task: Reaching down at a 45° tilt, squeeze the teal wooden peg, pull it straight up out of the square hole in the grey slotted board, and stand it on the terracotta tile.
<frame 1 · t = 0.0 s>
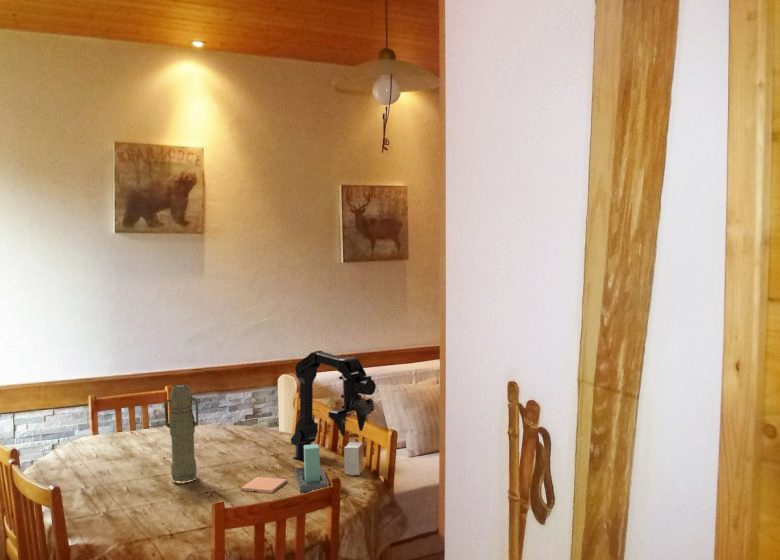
hand: (352, 433, 263), 15 cm above the table, tool pointing down, fingers open, 9 cm apart
grey slotted board: (312, 485, 250), on the table
small box: (354, 473, 263), on the table
tile: (264, 486, 250), on the table
thermos: (184, 480, 260), on the table
peg: (312, 465, 249), in the grey slotted board
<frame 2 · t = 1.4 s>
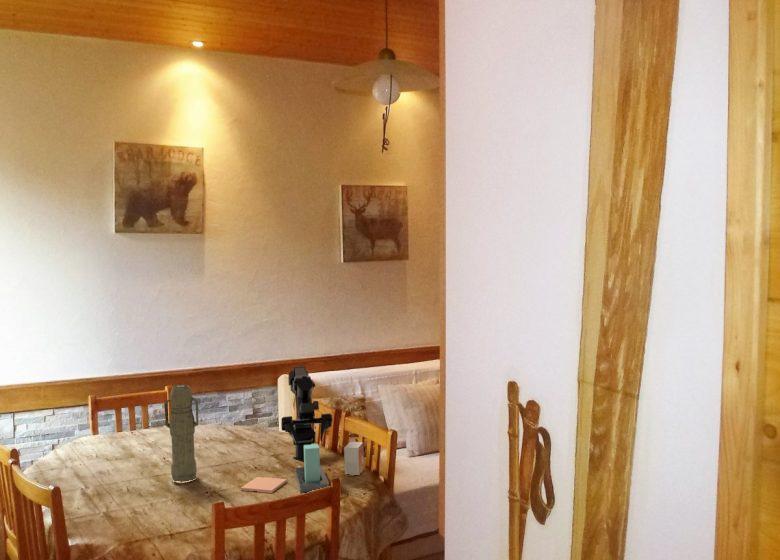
hand: (308, 441, 257), 13 cm above the table, tool tilted 45°, fingers open, 9 cm apart
nothing on the table moved.
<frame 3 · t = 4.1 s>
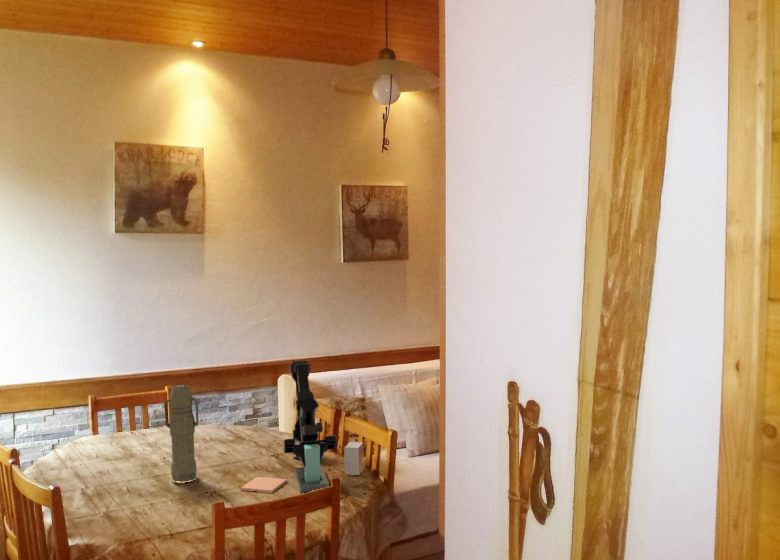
hand: (312, 465, 248), 8 cm above the table, tool tilted 45°, fingers closed on peg, 5 cm apart
peg: (312, 465, 249), in the grey slotted board, touching gripper
everything else where it was.
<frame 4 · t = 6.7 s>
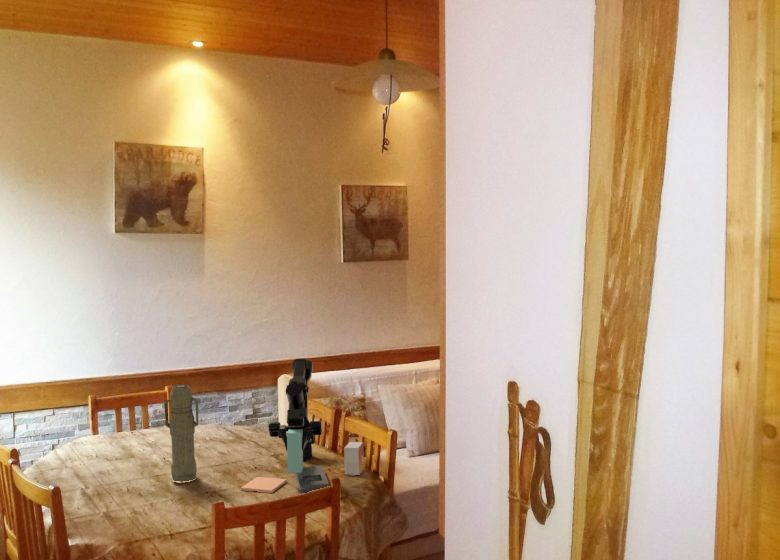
hand: (294, 450, 247), 13 cm above the table, tool tilted 45°, fingers closed on peg, 5 cm apart
peg: (295, 450, 248), point 13 cm above the table, touching gripper
everything else where it was.
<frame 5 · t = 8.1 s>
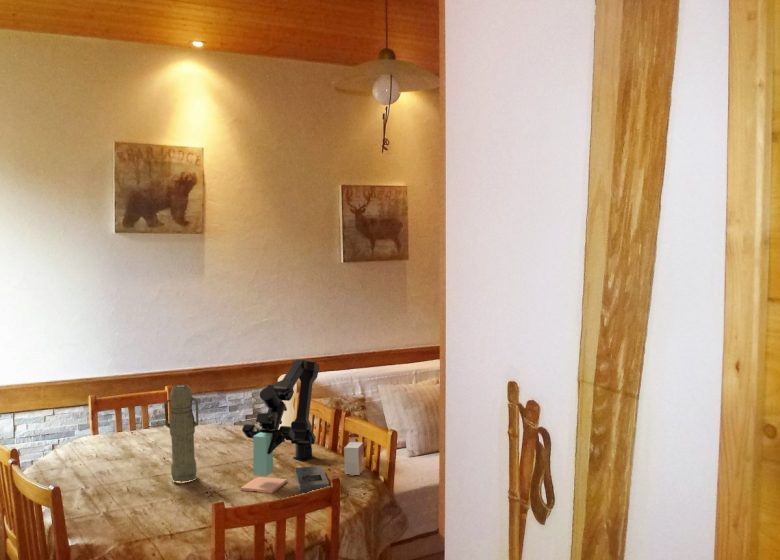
hand: (261, 453, 248), 12 cm above the table, tool tilted 45°, fingers closed on peg, 5 cm apart
peg: (263, 454, 250), point 12 cm above the table, touching gripper
everything else where it was.
when the fingers open (10 cm above the table, at t = 9.3 s): peg drops 1 cm, resting on tile.
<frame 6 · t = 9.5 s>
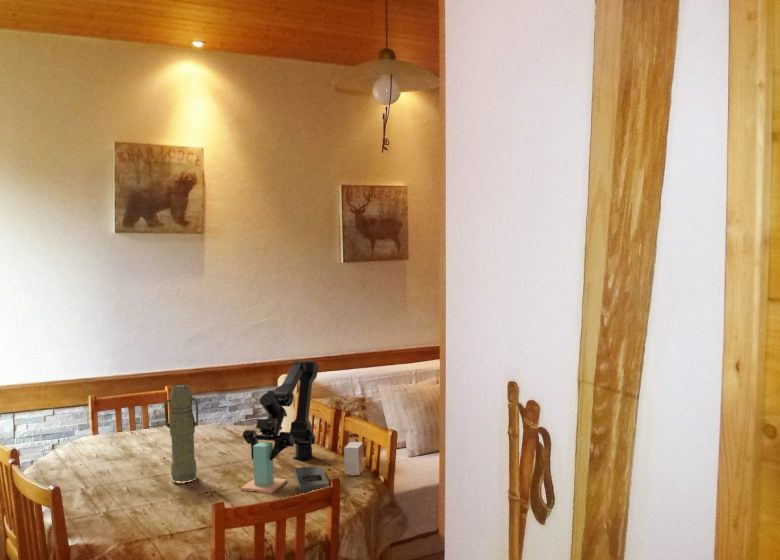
hand: (261, 459, 248), 10 cm above the table, tool tilted 45°, fingers open, 7 cm apart
peg: (263, 463, 250), on the tile, point 8 cm above the table
everything else where it was.
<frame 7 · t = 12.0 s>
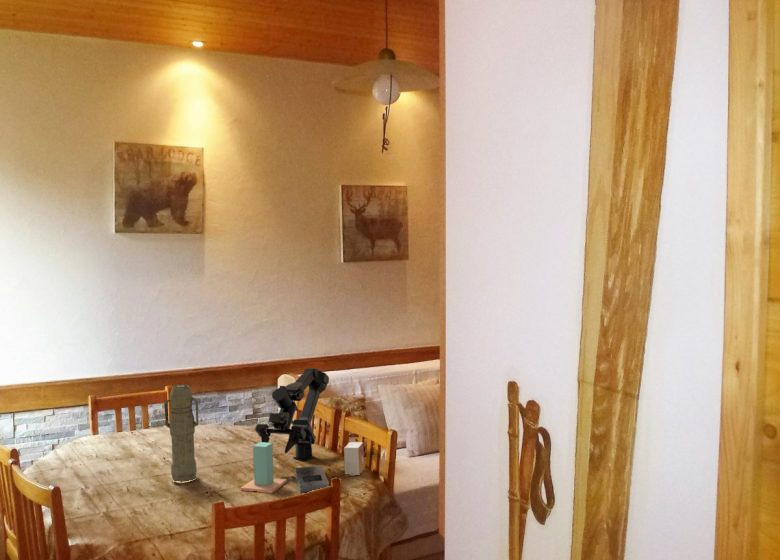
hand: (273, 452, 258), 10 cm above the table, tool tilted 45°, fingers open, 9 cm apart
nothing on the table moved.
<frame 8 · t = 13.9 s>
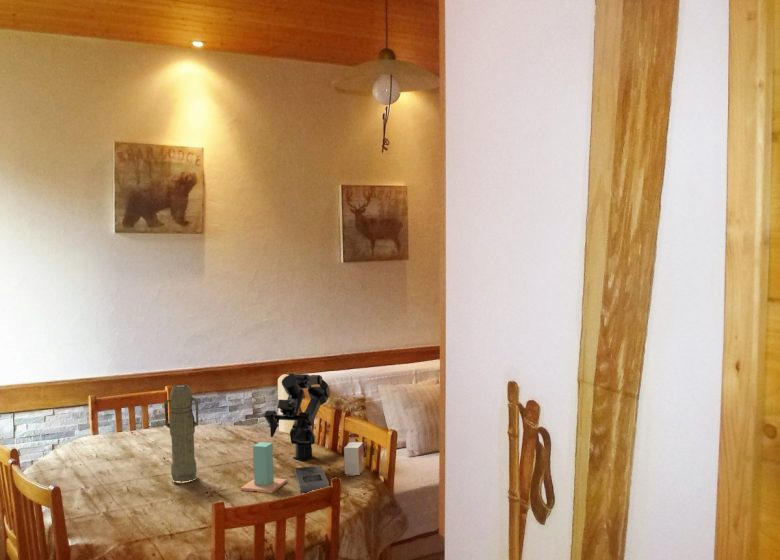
hand: (282, 437, 263), 14 cm above the table, tool tilted 45°, fingers open, 9 cm apart
nothing on the table moved.
at the end: peg 0.0 cm off-centre on the tile, point 8.0 cm above the tile's base; peg tilted 0°; the gripper is holding nothing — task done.
